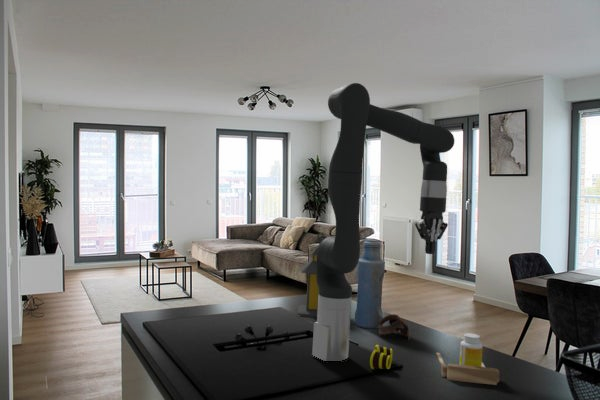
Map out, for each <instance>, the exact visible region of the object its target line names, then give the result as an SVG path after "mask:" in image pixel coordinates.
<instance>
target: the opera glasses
mask: <svg viewBox="0 0 600 400" xmlns="http://www.w3.org/2000/svg"><path fill="white" fill-rule="evenodd" d="M392 362H393V349H392V348H388V347H386V346H380V345H379V344H376V345H375V346H374V349H373V351H372V353H371V355H370V358H369V366H370V368H371V369H372V370H375V369H374V368H376V369H379V370H380V369H382V370H383V369H387V370H390V368H391V365H392Z"/></svg>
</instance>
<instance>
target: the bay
mask: <svg viewBox="0 0 600 400" xmlns="http://www.w3.org/2000/svg"><path fill="white" fill-rule="evenodd" d="M435 353H436V356H437V358H438V361H439V363H440V366H441V370H440V371H441V372H440V374H441V377H442V378H446V380H448V381H455V382H464V383H472V384H473V383H474V384H486V385H494V386H497V385H498V383H499V382H500V375H501V374H500V371H499V370H498V369H497V368H495V367H486V366H485V364H484V362H482V366H481V367H477V366H467V365H459V364H456V363H455V364H454V363H447V364H446V363H445V362H444V359H443V357H442V355H441V353H440V352H435Z"/></svg>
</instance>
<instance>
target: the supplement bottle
mask: <svg viewBox="0 0 600 400" xmlns="http://www.w3.org/2000/svg"><path fill="white" fill-rule="evenodd" d="M459 345H460V347H459V361H458V362H459V363H458V365H467V366H477V367H481V366H482V363H483V344H482V343H481V335H478V334H475V333H468V332H467V333H464V335H463V340H461V341H460V344H459Z"/></svg>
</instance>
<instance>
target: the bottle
mask: <svg viewBox="0 0 600 400" xmlns="http://www.w3.org/2000/svg"><path fill="white" fill-rule="evenodd" d="M381 247H382V245H381V242H379V240H378V239H371V238H368V239H366V240H365V241H364V242H363V245H362V253H361V258H359V261H358V264H357V266H356V273H357V274H356V275H357V288H356V289H357V290H356V291H357V293H356V294H357V295H356V309H355V312H354V325H355V326H356V327H359V328H364V329H379V324H380V323H379V322H380V320H381V319H383V318H384V315H383V310H382V298H383V297H382V295H383V282H384V281H383V278H384V274H385V270H386V267H385V266H386V261H385V260H384V259H381V256H382V255H381Z"/></svg>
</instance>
